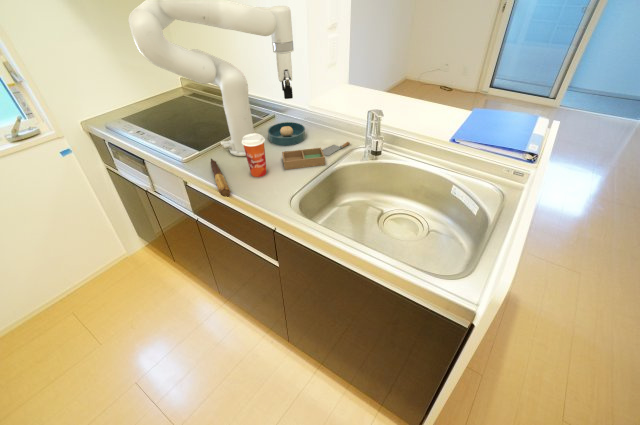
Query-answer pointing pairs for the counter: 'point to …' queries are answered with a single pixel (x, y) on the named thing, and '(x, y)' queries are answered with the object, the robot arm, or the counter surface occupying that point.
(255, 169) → the paper cup
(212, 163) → the hand tool
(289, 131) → the egg
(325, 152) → the cleaver
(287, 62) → the robot arm
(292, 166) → the divided brown tray
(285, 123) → the bowl
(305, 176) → the counter surface
